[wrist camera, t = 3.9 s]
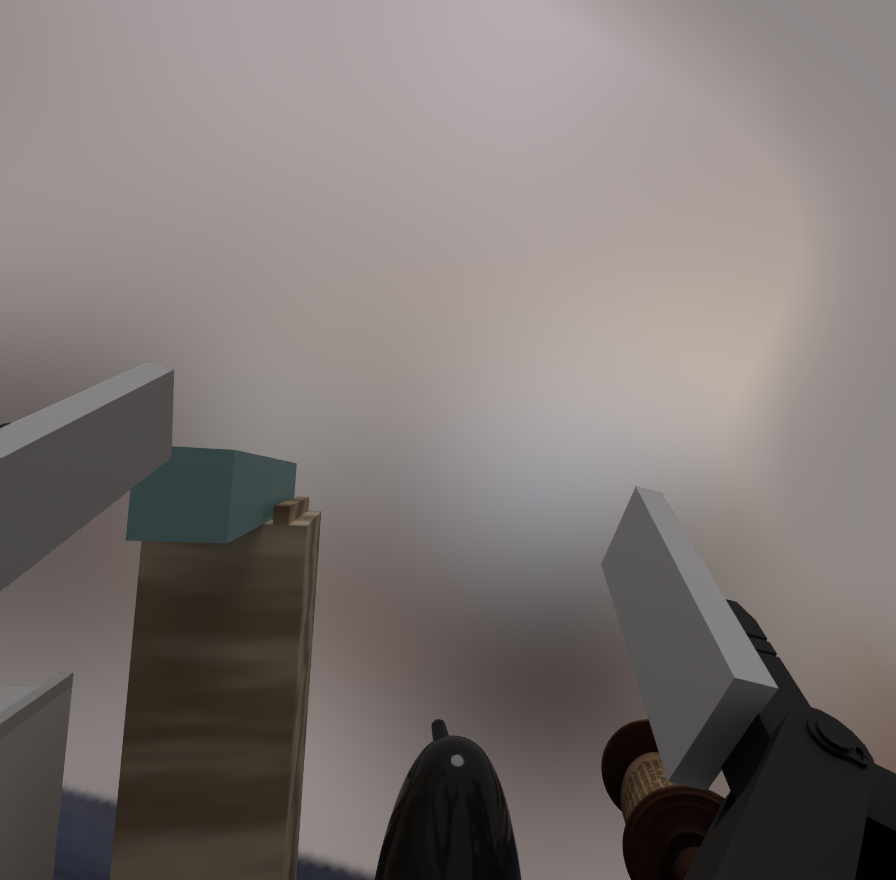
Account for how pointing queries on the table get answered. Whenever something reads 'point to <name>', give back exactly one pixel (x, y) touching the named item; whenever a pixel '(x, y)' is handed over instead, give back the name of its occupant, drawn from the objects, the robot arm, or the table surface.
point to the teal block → (208, 496)
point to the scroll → (654, 806)
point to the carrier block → (32, 775)
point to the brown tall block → (219, 705)
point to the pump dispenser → (450, 818)
